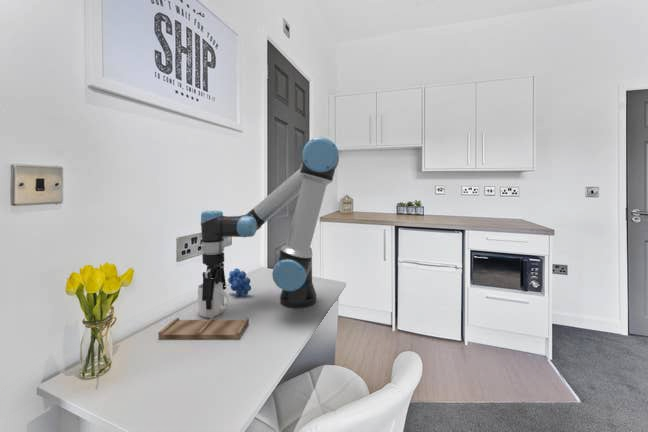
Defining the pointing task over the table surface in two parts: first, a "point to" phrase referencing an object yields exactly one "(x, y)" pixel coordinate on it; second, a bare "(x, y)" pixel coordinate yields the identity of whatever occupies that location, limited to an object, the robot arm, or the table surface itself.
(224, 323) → the ledge board
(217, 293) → the mug
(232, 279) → the grapes
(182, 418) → the table surface
